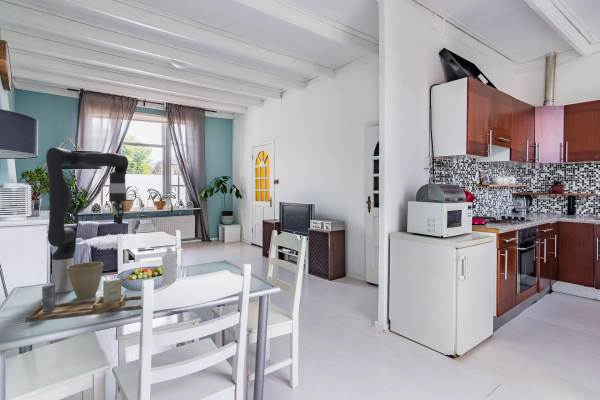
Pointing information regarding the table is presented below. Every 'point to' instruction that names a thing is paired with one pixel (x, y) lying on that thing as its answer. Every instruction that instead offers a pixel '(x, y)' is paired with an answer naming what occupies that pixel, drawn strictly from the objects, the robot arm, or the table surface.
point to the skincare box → (112, 290)
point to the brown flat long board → (35, 312)
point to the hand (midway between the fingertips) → (118, 223)
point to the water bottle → (169, 266)
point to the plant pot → (85, 278)
